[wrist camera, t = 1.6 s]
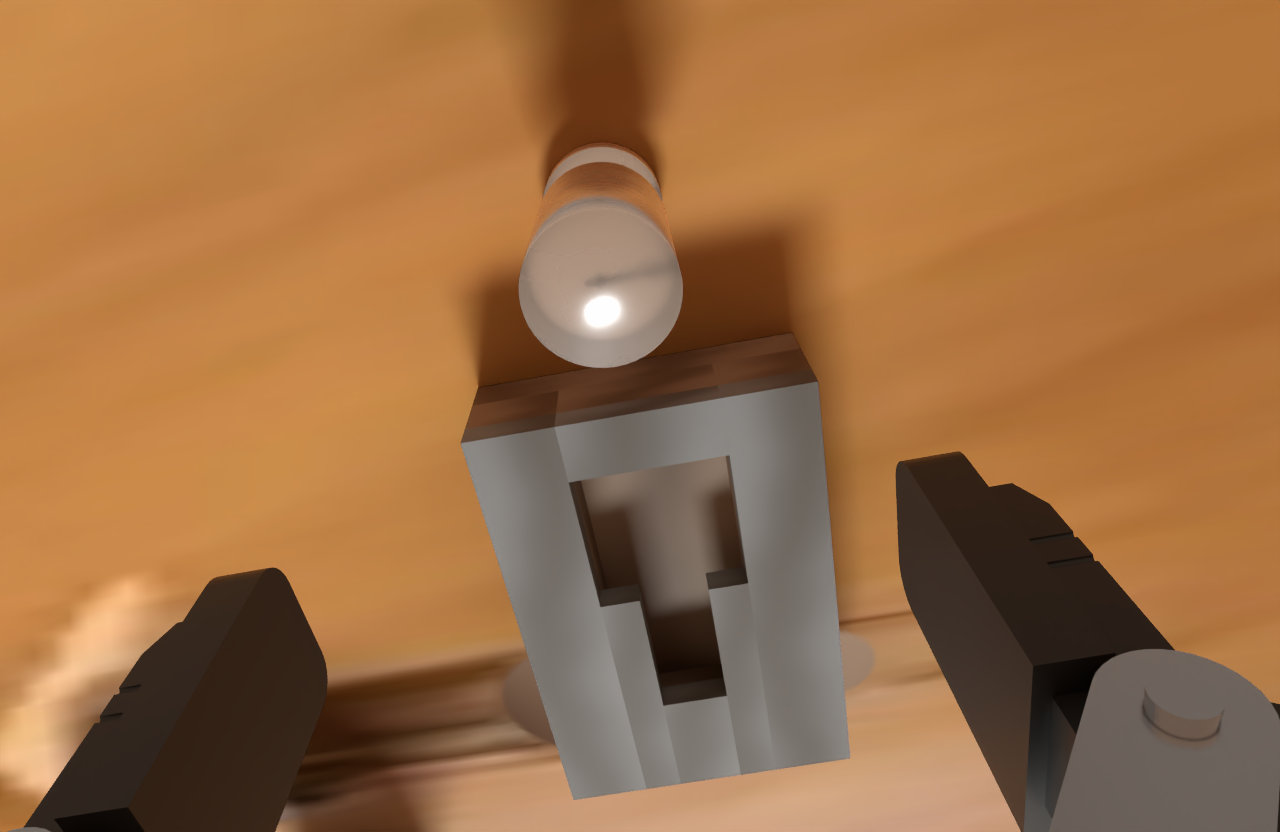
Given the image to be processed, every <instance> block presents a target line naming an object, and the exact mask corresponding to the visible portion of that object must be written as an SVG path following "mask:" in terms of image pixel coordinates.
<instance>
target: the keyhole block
mask: <svg viewBox="0 0 1280 832" xmlns="http://www.w3.org/2000/svg"><path fill="white" fill-rule="evenodd" d="M461 446H462V449H463V452H464V456H465V459H466V462H467V465H468V468H469V471H470V475H471V478H472V481H473V484H474V487H475V490H476V493H477V497H478V500H479V503H480V506H481V509H482V512H483V516H484V519H485V522H486V525H487V528H488V531H489V534H490V538H491V541H492V544H493V547H494V550H495V553H496V557H497V560H498V563H499V566H500V569H501V572H502V575H503V579H504V582H505V585H506V588H507V591H508V594H509V598H510V601H511V604H512V607H513V610H514V613H515V616H516V620H517V623H518V626H519V629H520V632H521V635H522V639H523V642H524V645H525V648H526V651H527V654H528V657H529V661H530V664H531V667H532V670H533V673H534V676H535V679H536V683H537V685H538V689H539V692H540V695H541V698H542V702H543V705H544V708H545V711H546V714H547V717H548V720H549V724H550V727H551V730H552V733H553V736H554V739H555V743H556V746H557V749H558V752H559V755H560V758H561V762H562V765H563V768H564V771H565V774H566V777H567V780H568V784H569V787H570V790H571V793H572V796H573V799H574V800H577V799H583V798H590V797H597V796H603V795H610V794H617V793H623V792H630V791H637V790H643V789H650V788H657V787H663V786H670V785H676V784H683V783H690V782H696V781H703V780H710V779H716V778H723V777H730V776H736V775H743V774H749V773H756V772H763V771H769V770H776V769H783V768H789V767H796V766H803V765H809V764H816V763H823V762H829V761H836V760H842V759H849V758H850V749H849V738H848V726H847V714H846V703H845V691H844V680H843V667H842V656H841V645H840V632H839V620H838V609H837V597H836V585H835V574H834V562H833V550H832V538H831V527H830V515H829V503H828V491H827V480H826V468H825V456H824V445H823V433H822V421H821V409H820V398H819V386H818V380H817V378H816V377H815V375H814V373H813V371H812V369H811V367H810V365H809V363H808V361H807V360H806V358H805V356H804V354H803V352H802V350H801V348H800V346H799V344H798V343H797V341H796V339H795V337H794V335H793V333H787V334H782V335H776V336H770V337H765V338H759V339H753V340H748V341H742V342H736V343H731V344H725V345H719V346H714V347H708V348H702V349H697V350H691V351H685V352H680V353H674V354H668V355H663V356H657V357H651V358H645V359H640V360H636V361H634V362H631V363H628V364H625V365H621V366H617V367H609V368H589V369H583V370H577V371H572V372H566V373H560V374H555V375H549V376H543V377H538V378H532V379H526V380H521V381H515V382H509V383H504V384H498V385H492V386H487V387H481V388H478V390H477V393H476V396H475V400H474V403H473V406H472V409H471V412H470V415H469V419H468V422H467V425H466V428H465V431H464V434H463V437H462V441H461Z"/></svg>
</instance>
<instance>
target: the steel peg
mask: <svg viewBox="0 0 1280 832" xmlns="http://www.w3.org/2000/svg"><path fill="white" fill-rule="evenodd" d="M682 299H683V283H682V276H681V271H680V267H679V263H678V259H677V255H676V251H675V247H674V244H673V240H672V236H671V232H670V228H669V224H668V220H667V216H666V212H665V208H664V206H663V203H662V197H661V193H660V188H659V185H658V182H657V179H656V177H655V175H654V173H653V171H652V169H651V168H650V167H649V165H648V164H647V163H646V162H645V161H644V160H643V159H642V158H641V157H640V156H639V155H638V154H636V153H635V152H633V151H632V150H630V149H628V148H626V147H624V146H621V145H618V144H614V143H607V142H597V143H590V144H586V145H583V146H580V147H578V148H576V149H574V150H572V151H571V152H569V153H568V154H567V155H565V156H564V157H563V158H562V159H561V160H560V161H559V162H558V163H557V165H556V166H555V167H554V169H553V170H552V172H551V174H550V176H549V179H548V181H547V184H546V188H545V191H544V196H543V200H542V202H541V205H540V208H539V211H538V214H537V218H536V221H535V224H534V228H533V231H532V234H531V238H530V241H529V244H528V248H527V251H526V255H525V258H524V261H523V265H522V268H521V273H520V277H519V300H520V305H521V309H522V312H523V315H524V318H525V320H526V322H527V324H528V326H529V328H530V329H531V331H532V332H533V334H534V335H535V336H536V338H537V339H538V340H539V341H540V342H541V343H542V344H543V345H544V346H545V347H546V348H547V349H548V350H550V351H551V352H553V353H554V354H556V355H557V356H559V357H561V358H563V359H565V360H567V361H569V362H572V363H574V364H578V365H582V366H586V367H594V368H609V367H617V366H621V365H625V364H628V363H631V362H634V361H636V360H638V359H640V358H642V357H644V356H646V355H647V354H649V353H650V352H652V351H653V350H654V349H655V348H656V347H658V346H659V345H660V344H661V343H662V342H663V341H664V339H665V338H666V337H667V336H668V334H669V333H670V331H671V330H672V328H673V327H674V325H675V323H676V320H677V318H678V315H679V312H680V309H681V304H682Z"/></svg>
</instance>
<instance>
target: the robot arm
mask: <svg viewBox="0 0 1280 832" xmlns="http://www.w3.org/2000/svg"><path fill="white" fill-rule="evenodd" d="M896 498H897V522H898V546H899V564H900V571H901V577H902V581H903V586H904V589H905V593H906V596H907V599H908V602H909V605H910V607H911V609H912V612H913V614H914V616H915V618H916V620H917V622H918V624H919V626H920V628H921V630H922V632H923V634H924V636H925V638H926V640H927V642H928V644H929V646H930V648H931V650H932V652H933V654H934V656H935V658H936V660H937V662H938V664H939V666H940V668H941V670H942V672H943V674H944V676H945V678H946V680H947V682H948V684H949V686H950V688H951V690H952V692H953V694H954V697H955V699H956V701H957V703H958V705H959V707H960V709H961V711H962V713H963V715H964V717H965V719H966V721H967V723H968V725H969V727H970V729H971V731H972V733H973V735H974V737H975V739H976V741H977V743H978V745H979V747H980V749H981V751H982V753H983V755H984V757H985V759H986V761H987V763H988V765H989V767H990V769H991V771H992V773H993V775H994V777H995V779H996V782H997V784H998V786H999V788H1000V790H1001V792H1002V794H1003V796H1004V798H1005V800H1006V802H1007V804H1008V806H1009V808H1010V810H1011V812H1012V814H1013V816H1014V818H1015V820H1016V822H1017V824H1018V826H1019V828H1020V830H1021V832H1280V704H1276V703H1271V702H1270V701H1269V700H1268V699H1267V698H1266V697H1265V695H1264V694H1263V693H1262V692H1261V691H1260V690H1259V689H1258V688H1257V687H1255V686H1254V685H1253V684H1252V683H1251V682H1250V681H1248V680H1247V679H1245V678H1244V677H1242V676H1241V675H1239V674H1238V673H1236V672H1234V671H1233V670H1231V669H1229V668H1227V667H1225V666H1223V665H1221V664H1219V663H1216V662H1214V661H1212V660H1209V659H1207V658H1203V657H1200V656H1197V655H1194V654H1190V653H1185V652H1180V651H1175V650H1174V649H1173V647H1172V646H1171V645H1170V644H1169V643H1168V642H1167V640H1166V639H1165V638H1164V637H1163V636H1162V635H1161V633H1160V632H1159V631H1158V630H1157V629H1156V628H1155V626H1154V625H1153V624H1152V623H1151V622H1150V621H1149V619H1148V618H1147V617H1146V616H1145V615H1144V614H1143V612H1142V611H1141V610H1140V609H1139V608H1138V607H1137V605H1136V604H1135V603H1134V602H1133V601H1132V600H1131V598H1130V597H1129V596H1128V595H1127V594H1126V593H1125V591H1124V590H1123V589H1122V588H1121V587H1120V586H1119V584H1118V583H1117V582H1116V581H1115V580H1114V579H1113V577H1112V576H1111V575H1110V574H1109V573H1108V572H1107V570H1106V569H1105V568H1104V567H1103V566H1102V565H1101V563H1100V562H1099V561H1094V558H1093V554H1092V553H1091V552H1090V551H1089V550H1088V548H1087V547H1086V546H1085V545H1084V544H1083V543H1082V541H1081V540H1080V539H1079V538H1078V537H1076V538H1075V537H1074V535H1073V531H1072V530H1071V529H1070V527H1069V526H1068V525H1067V524H1066V523H1065V522H1064V520H1063V519H1062V518H1061V517H1060V516H1059V515H1058V513H1057V512H1056V511H1055V510H1054V509H1053V508H1052V506H1051V505H1050V504H1049V503H1047V502H1045V501H1043V500H1041V499H1040V498H1038V497H1036V496H1034V495H1032V494H1031V493H1029V492H1027V491H1025V490H1023V489H1022V488H1020V487H1018V486H1016V485H1014V484H1012V483H1010V484H1004V485H998V486H992V487H988V485H987V484H986V483H985V481H984V480H983V479H982V477H981V476H980V475H979V474H978V472H977V471H976V470H975V468H974V467H973V466H972V464H971V463H970V462H969V460H968V459H967V458H966V457H965V456H964V454H962V453H961V452H952V453H946V454H940V455H934V456H929V457H923V458H917V459H911V460H905V461H900V462H899V463H898V464H897V468H896ZM119 690H120V693H119V694H117V695H114V696H113V698H112V699H111V700H110V702H109V703H108V705H107V706H106V708H105V709H104V711H103V712H102V714H101V715H100V723H95V724H94V725H93V727H92V728H91V730H90V731H89V733H88V734H87V736H86V737H85V738H84V740H83V741H82V743H81V744H80V746H79V747H78V749H77V750H76V752H75V753H74V755H73V756H72V757H71V759H70V760H69V762H68V763H67V765H66V766H65V768H64V769H63V771H62V772H61V774H60V775H59V776H58V778H57V779H56V781H55V782H54V784H53V785H52V787H51V788H50V790H49V791H48V793H47V794H46V795H45V797H44V798H43V800H42V801H41V803H40V804H39V806H38V807H37V809H36V810H35V812H34V813H33V814H32V816H31V817H30V819H29V820H28V822H27V823H26V825H25V826H24V828H20V829H15V830H11V831H8V832H275V830H276V828H277V825H278V823H279V820H280V817H281V815H282V812H283V810H284V807H285V804H286V802H287V799H288V797H289V794H290V791H291V789H292V786H293V784H294V781H295V778H296V776H297V773H298V771H299V768H300V765H301V763H302V760H303V758H304V755H305V752H306V750H307V747H308V745H309V742H310V739H311V737H312V734H313V732H314V729H315V726H316V724H317V721H318V719H319V716H320V713H321V711H322V708H323V706H324V703H325V699H326V694H327V669H326V664H325V660H324V656H323V654H322V651H321V649H320V647H319V645H318V643H317V641H316V639H315V636H314V634H313V632H312V630H311V628H310V626H309V624H308V622H307V619H306V617H305V615H304V613H303V611H302V609H301V607H300V605H299V602H298V600H297V598H296V596H295V594H294V592H293V590H292V588H291V585H290V583H289V581H288V579H287V578H286V576H285V575H284V574H283V573H282V572H281V571H280V570H279V569H277V568H267V569H261V570H255V571H249V572H243V573H237V574H232V575H226V576H220V577H216V578H214V579H212V580H211V581H210V582H209V583H208V584H207V586H206V587H205V589H204V590H203V592H202V593H201V595H200V596H199V598H198V599H197V601H196V602H195V604H194V605H193V607H192V608H191V610H190V611H189V613H188V614H187V616H186V618H185V619H184V621H183V622H179V623H177V624H175V625H174V626H173V627H172V628H171V629H170V630H169V631H168V632H167V633H165V634H164V635H163V636H162V637H161V638H160V639H159V640H158V641H156V642H155V643H154V644H153V645H152V646H151V647H150V648H149V649H147V650H146V651H145V652H144V653H143V654H142V655H141V657H140V658H139V660H138V661H137V662H136V664H135V665H134V667H133V668H132V670H131V671H130V673H129V674H128V676H127V677H126V679H125V680H124V681H123V683H122V684H121V686H120V687H119Z"/></svg>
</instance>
